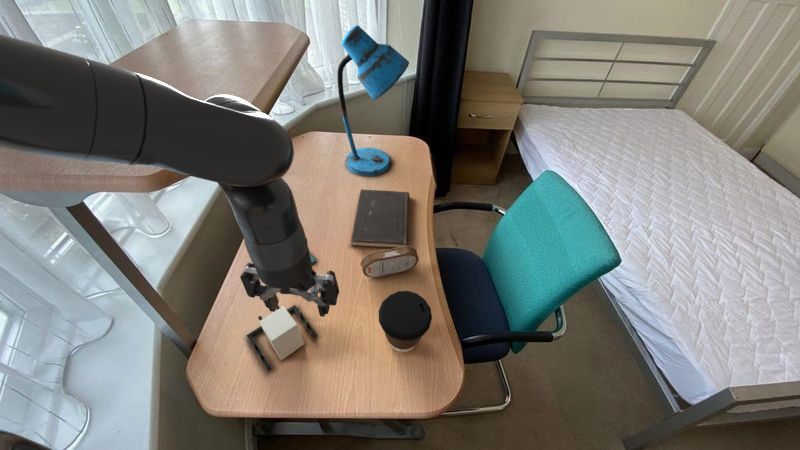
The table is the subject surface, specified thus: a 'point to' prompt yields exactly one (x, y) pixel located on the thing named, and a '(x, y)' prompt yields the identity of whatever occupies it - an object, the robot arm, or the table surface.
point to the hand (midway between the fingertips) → (299, 309)
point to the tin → (389, 261)
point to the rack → (258, 330)
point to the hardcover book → (381, 219)
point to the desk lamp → (369, 90)
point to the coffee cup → (404, 319)
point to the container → (282, 332)
